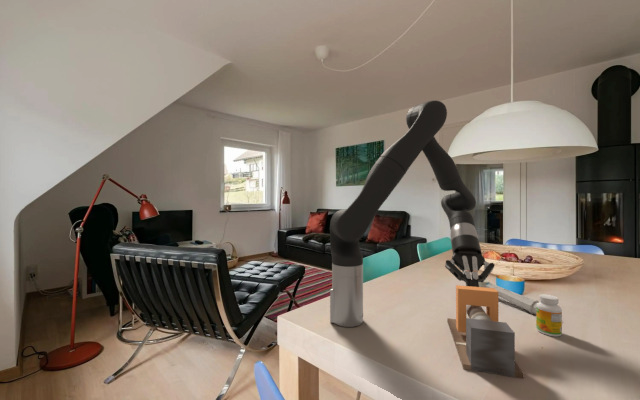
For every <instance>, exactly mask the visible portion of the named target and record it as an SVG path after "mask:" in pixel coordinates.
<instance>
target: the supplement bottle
mask: <svg viewBox="0 0 640 400" xmlns="http://www.w3.org/2000/svg"><path fill="white" fill-rule="evenodd" d="M562 311H563V310H562V307H561V306H560V305H559V297H557V296H555V295H552V294H543V293H542V294H539V303H537V305H536V315H535V317H536V318H535V319H536V321H535V322H536V323H535V325H536V327H535V328H536V330H537V331H538V332H539V333H541V334H543V335H545V336H549V337H555V338H556V337H561V336H562V333H563V318H562V317H563V312H562Z"/></svg>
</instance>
